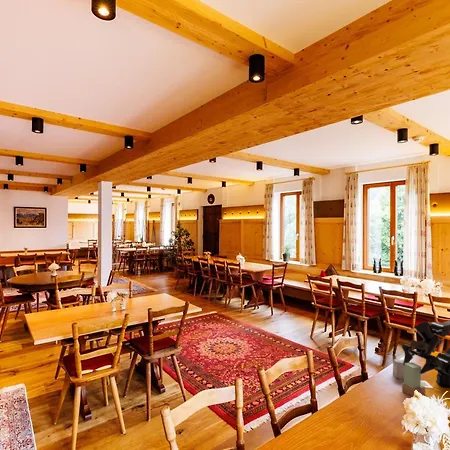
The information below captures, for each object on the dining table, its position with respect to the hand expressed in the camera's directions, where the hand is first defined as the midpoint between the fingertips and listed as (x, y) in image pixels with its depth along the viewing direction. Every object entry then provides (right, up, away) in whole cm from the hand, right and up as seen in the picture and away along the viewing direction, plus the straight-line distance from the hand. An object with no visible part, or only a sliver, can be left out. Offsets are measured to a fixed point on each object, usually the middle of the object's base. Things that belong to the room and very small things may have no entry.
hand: (412, 369), depth 155 cm
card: (+10, -12, +8) cm, 18 cm away
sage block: (0, -8, 0) cm, 8 cm away
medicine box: (+4, -12, +16) cm, 20 cm away
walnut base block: (+1, -12, 0) cm, 12 cm away
